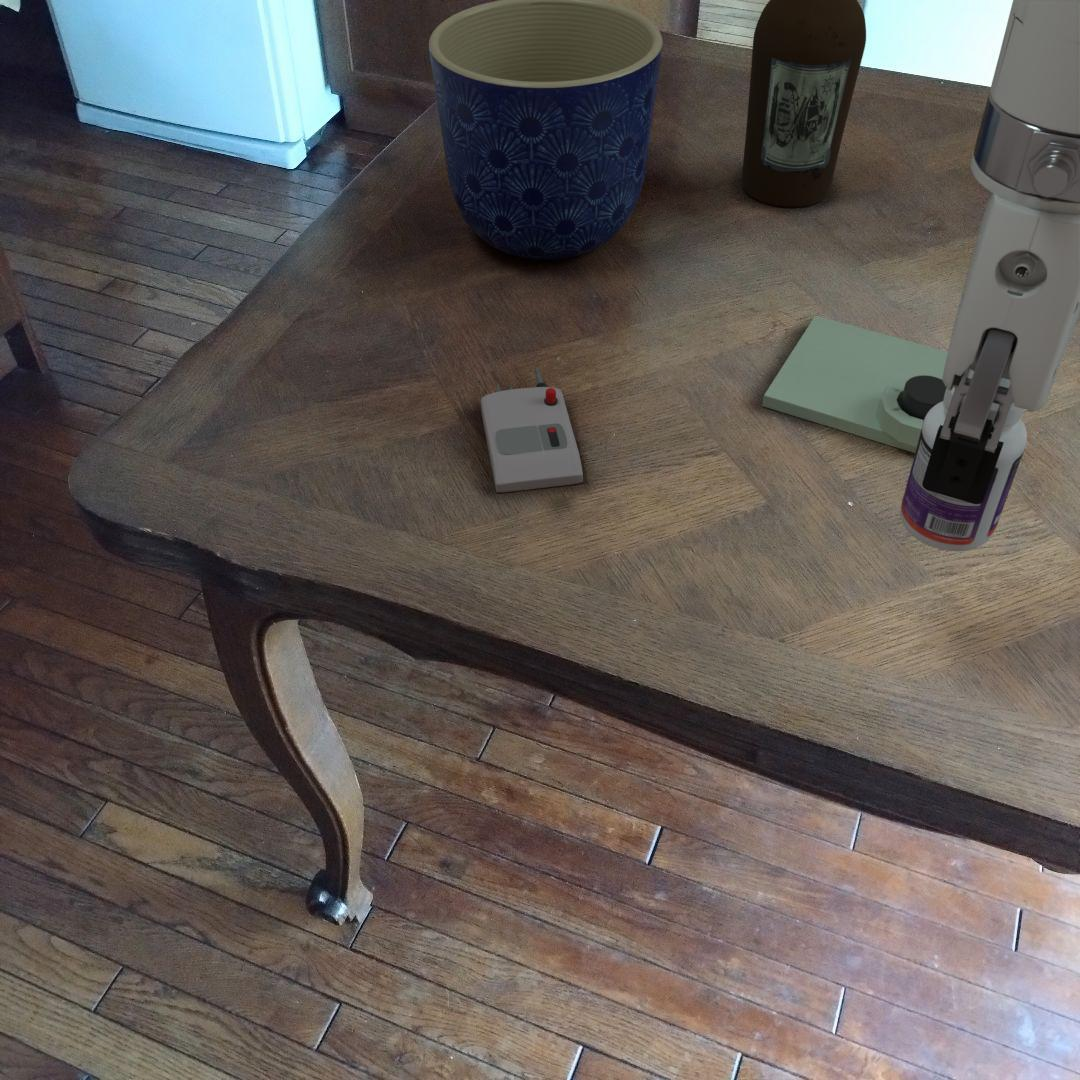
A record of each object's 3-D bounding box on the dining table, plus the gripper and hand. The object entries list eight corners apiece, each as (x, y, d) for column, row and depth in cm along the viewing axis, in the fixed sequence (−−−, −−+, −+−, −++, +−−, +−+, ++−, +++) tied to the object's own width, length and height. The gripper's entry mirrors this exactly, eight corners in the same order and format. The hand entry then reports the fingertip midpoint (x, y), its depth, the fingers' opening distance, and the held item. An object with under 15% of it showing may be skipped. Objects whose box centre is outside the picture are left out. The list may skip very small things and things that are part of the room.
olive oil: (734, 161, 117) (765, -93, 99) (831, 165, 116) (881, -91, 98) (736, 209, 110) (770, -57, 92) (840, 213, 109) (895, -54, 91)
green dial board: (995, 376, 89) (1006, 347, 87) (956, 473, 81) (967, 443, 79) (812, 326, 95) (818, 297, 93) (758, 411, 87) (763, 382, 84)
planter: (667, 196, 112) (682, 5, 98) (624, 301, 98) (635, 96, 84) (481, 173, 116) (471, -14, 102) (415, 271, 102) (393, 70, 89)
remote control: (499, 510, 79) (497, 480, 77) (475, 383, 90) (473, 354, 87) (587, 499, 79) (588, 469, 77) (553, 375, 90) (552, 346, 88)
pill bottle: (949, 481, 65) (991, 347, 58) (1014, 535, 61) (1067, 399, 54) (878, 509, 63) (913, 375, 56) (940, 566, 60) (985, 430, 53)
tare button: (952, 401, 83) (958, 383, 82) (941, 427, 81) (947, 409, 80) (906, 388, 84) (912, 370, 83) (894, 413, 82) (899, 395, 81)
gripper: (1134, 252, 40) (1002, 583, 52) (1183, 85, 50) (1063, 395, 63) (931, 211, 42) (853, 535, 55) (1018, 61, 53) (935, 362, 66)
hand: (966, 458), depth 59 cm, fingers closed on pill bottle, 5 cm apart
